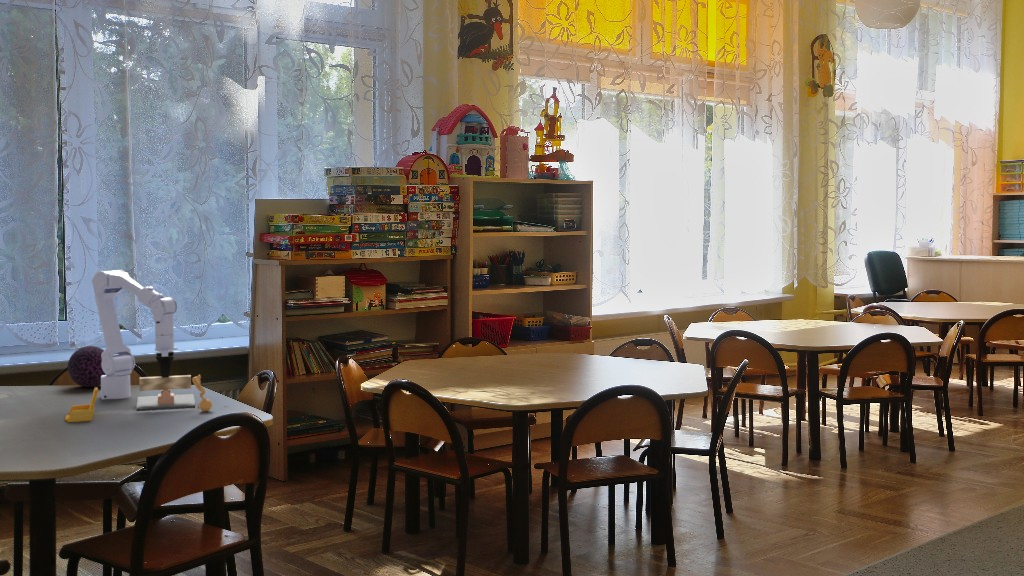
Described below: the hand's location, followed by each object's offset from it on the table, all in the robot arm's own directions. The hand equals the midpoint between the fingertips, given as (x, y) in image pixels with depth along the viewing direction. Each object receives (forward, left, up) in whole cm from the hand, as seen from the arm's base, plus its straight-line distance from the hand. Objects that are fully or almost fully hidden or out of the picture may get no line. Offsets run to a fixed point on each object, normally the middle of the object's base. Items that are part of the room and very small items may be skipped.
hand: (165, 375), depth 335 cm
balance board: (0, +3, -10) cm, 11 cm away
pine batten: (0, 0, -4) cm, 4 cm away
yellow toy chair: (-25, -13, -10) cm, 30 cm away
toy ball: (-26, +46, -10) cm, 54 cm away
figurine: (+11, -14, -10) cm, 21 cm away
